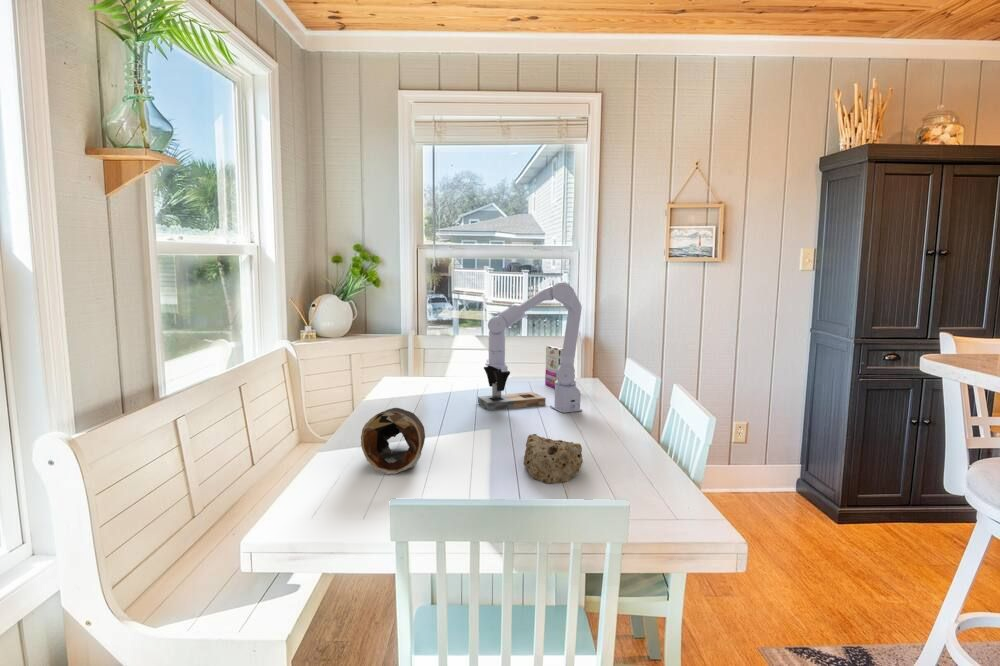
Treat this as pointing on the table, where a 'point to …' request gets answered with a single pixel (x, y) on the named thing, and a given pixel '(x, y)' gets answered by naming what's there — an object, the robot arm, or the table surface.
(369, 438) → the hollow brown log
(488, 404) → the dock board
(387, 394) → the table surface
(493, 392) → the pin
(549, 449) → the rock
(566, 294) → the robot arm
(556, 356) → the candy bar box
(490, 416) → the table surface
